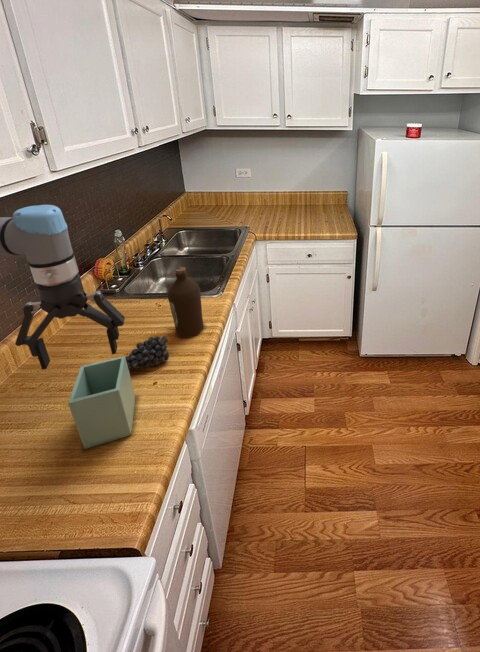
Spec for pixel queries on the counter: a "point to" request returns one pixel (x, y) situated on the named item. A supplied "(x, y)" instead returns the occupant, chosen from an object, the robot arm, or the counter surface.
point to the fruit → (148, 353)
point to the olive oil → (185, 305)
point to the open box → (103, 402)
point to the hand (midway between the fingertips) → (81, 357)
